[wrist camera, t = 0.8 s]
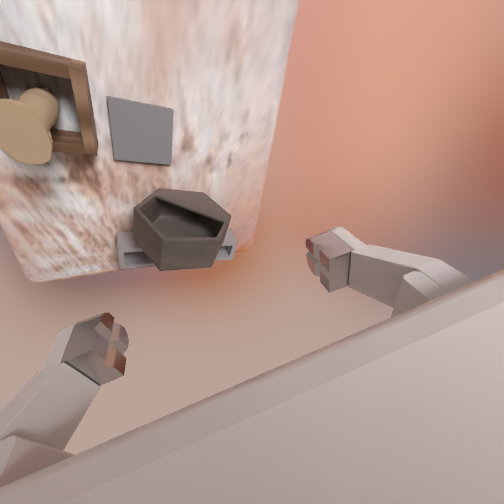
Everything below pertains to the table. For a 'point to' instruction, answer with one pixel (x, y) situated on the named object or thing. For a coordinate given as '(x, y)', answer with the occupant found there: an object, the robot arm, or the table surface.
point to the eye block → (79, 79)
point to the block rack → (137, 258)
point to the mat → (140, 131)
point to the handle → (28, 125)
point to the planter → (180, 229)
